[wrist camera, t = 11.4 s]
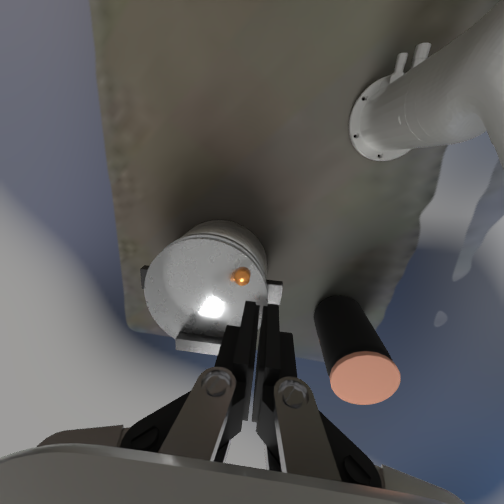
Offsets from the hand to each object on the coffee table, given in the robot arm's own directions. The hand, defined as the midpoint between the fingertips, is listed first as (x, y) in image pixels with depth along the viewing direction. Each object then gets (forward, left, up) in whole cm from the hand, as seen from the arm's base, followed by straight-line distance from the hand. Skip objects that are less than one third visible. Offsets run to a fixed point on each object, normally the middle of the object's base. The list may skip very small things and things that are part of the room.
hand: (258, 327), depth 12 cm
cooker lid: (+14, -9, -25) cm, 30 cm away
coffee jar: (+23, +18, -37) cm, 47 cm away
